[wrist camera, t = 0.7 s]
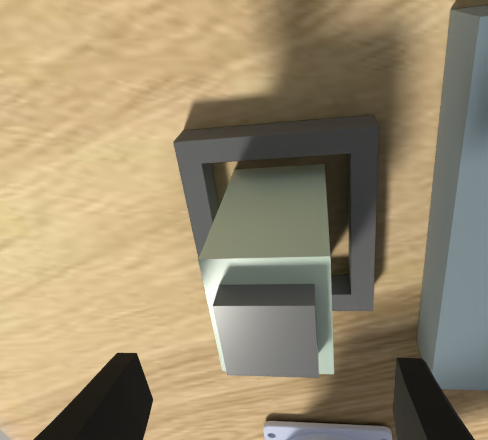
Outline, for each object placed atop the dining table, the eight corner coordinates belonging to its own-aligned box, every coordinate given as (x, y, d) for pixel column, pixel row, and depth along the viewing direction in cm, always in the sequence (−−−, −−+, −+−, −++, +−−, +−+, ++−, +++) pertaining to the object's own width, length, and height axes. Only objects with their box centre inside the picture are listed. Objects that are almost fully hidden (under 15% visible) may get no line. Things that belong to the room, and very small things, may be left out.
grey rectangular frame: (369, 290, 21) (373, 311, 20) (215, 292, 23) (210, 310, 21) (373, 114, 17) (378, 126, 16) (183, 130, 18) (173, 142, 17)
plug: (327, 258, 21) (335, 399, 14) (247, 260, 21) (217, 394, 14) (324, 163, 18) (331, 277, 11) (234, 169, 19) (190, 279, 12)
